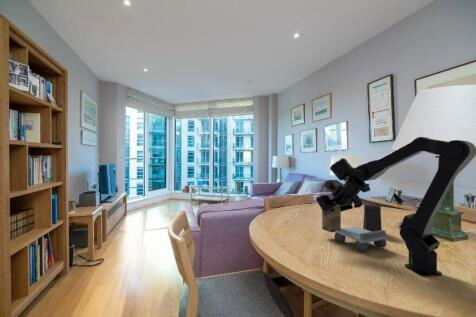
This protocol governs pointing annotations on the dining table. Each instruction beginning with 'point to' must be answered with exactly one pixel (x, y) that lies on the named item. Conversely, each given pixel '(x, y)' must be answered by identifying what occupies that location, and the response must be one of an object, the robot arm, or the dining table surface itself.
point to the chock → (332, 220)
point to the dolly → (362, 237)
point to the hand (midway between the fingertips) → (328, 213)
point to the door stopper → (372, 218)
